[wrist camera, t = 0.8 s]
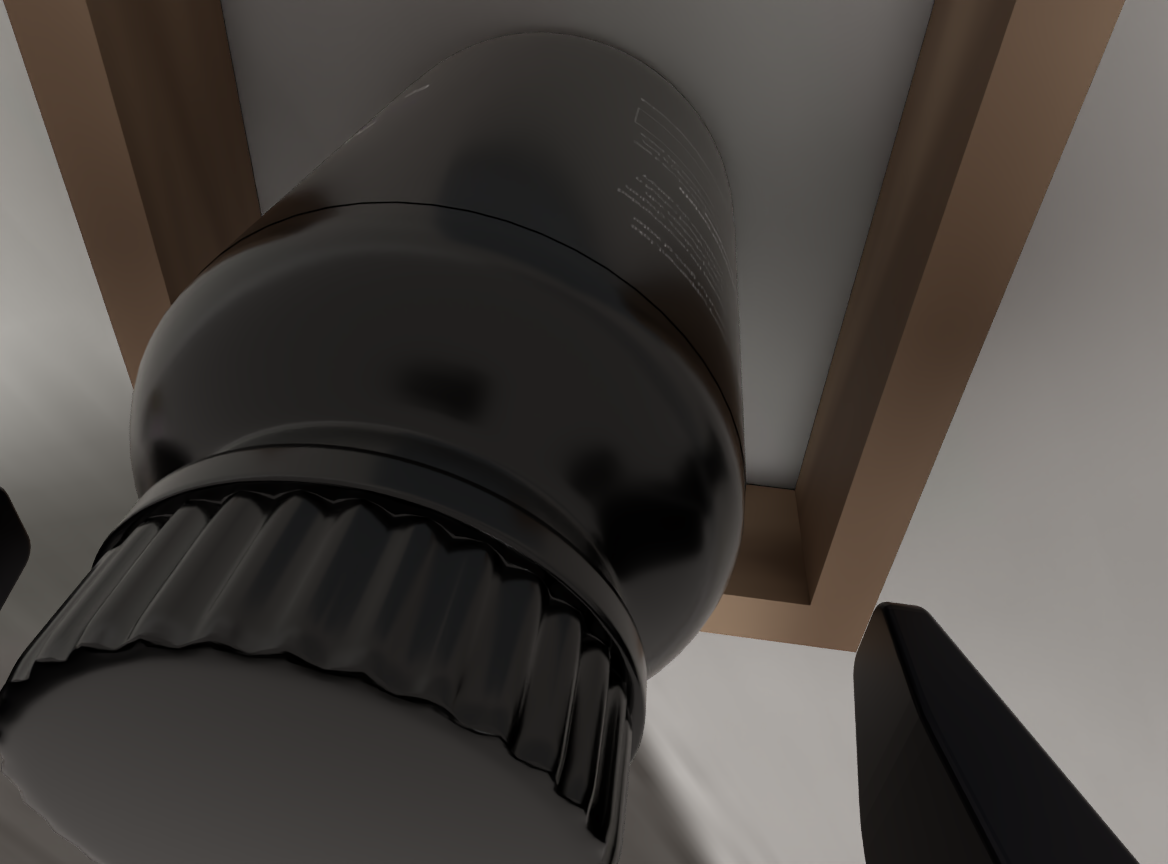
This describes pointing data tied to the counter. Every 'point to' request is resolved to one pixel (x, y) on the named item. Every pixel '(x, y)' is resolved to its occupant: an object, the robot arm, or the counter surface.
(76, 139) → the walnut frame
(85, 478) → the counter surface
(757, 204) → the counter surface
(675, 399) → the supplement bottle
